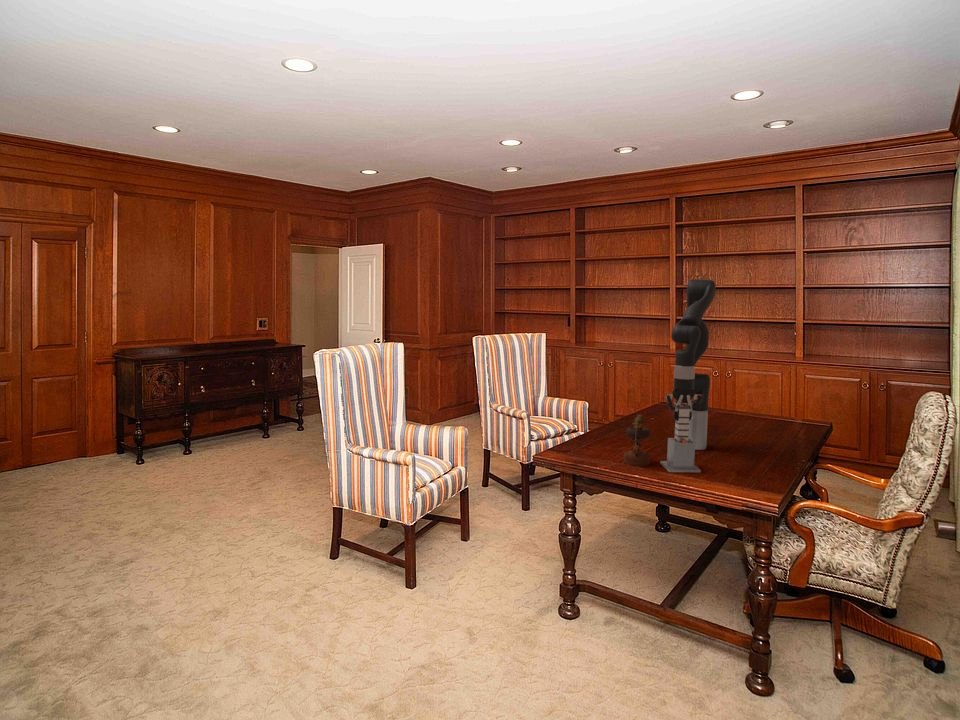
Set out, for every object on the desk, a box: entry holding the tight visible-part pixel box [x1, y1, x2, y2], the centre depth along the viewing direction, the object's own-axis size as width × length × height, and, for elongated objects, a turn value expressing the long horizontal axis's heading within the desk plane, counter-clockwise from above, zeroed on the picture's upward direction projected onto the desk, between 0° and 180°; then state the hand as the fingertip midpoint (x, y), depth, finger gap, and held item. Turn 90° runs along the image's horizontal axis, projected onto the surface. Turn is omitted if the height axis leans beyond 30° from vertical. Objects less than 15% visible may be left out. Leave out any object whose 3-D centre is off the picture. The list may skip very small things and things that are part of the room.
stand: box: [660, 437, 702, 474], centre depth 233 cm, size 12×12×12 cm
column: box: [674, 404, 692, 442], centre depth 232 cm, size 5×5×19 cm
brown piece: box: [623, 414, 651, 467], centre depth 241 cm, size 15×11×20 cm
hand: (682, 420), depth 231 cm, fingers closed on column, 4 cm apart
